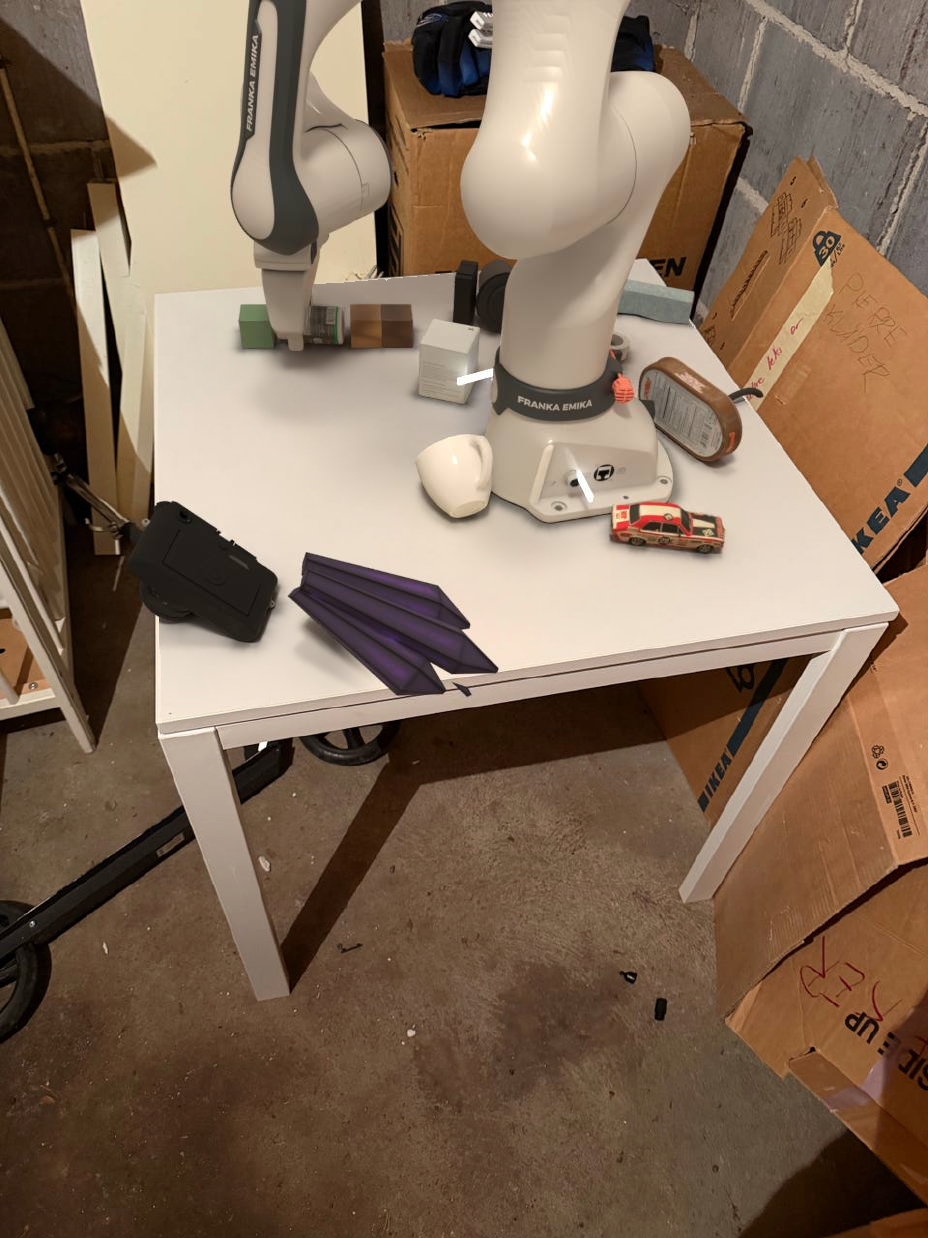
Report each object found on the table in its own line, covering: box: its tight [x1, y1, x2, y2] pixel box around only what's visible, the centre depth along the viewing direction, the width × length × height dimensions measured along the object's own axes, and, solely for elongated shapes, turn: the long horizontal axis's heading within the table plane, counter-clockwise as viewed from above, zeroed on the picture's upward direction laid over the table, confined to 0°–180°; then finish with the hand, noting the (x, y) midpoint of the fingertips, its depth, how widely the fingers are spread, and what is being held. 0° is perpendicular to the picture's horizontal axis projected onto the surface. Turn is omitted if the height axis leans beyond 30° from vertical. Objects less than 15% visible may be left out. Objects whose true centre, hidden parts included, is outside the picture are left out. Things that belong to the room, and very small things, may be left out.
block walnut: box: [380, 303, 414, 349], centre depth 116 cm, size 4×4×4 cm
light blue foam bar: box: [617, 278, 696, 325], centre depth 126 cm, size 23×7×3 cm
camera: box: [126, 500, 279, 642], centre depth 82 cm, size 14×7×8 cm
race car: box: [610, 502, 726, 555], centre depth 93 cm, size 5×12×5 cm, turn 79°
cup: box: [414, 433, 493, 519], centre depth 93 cm, size 8×10×7 cm
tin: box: [637, 356, 743, 462], centre depth 103 cm, size 15×3×8 cm, turn 34°
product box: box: [418, 318, 481, 405], centre depth 108 cm, size 6×6×7 cm
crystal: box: [287, 551, 500, 698], centre depth 80 cm, size 7×12×20 cm
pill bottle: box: [275, 304, 346, 345], centre depth 115 cm, size 5×5×8 cm
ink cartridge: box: [452, 259, 479, 326], centre depth 118 cm, size 5×2×8 cm, turn 168°
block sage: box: [238, 303, 276, 349], centre depth 114 cm, size 4×4×4 cm
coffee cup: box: [475, 259, 514, 333], centre depth 120 cm, size 8×8×10 cm
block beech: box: [349, 303, 382, 349], centre depth 116 cm, size 4×4×4 cm
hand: (301, 327), depth 115 cm, fingers open, 8 cm apart
